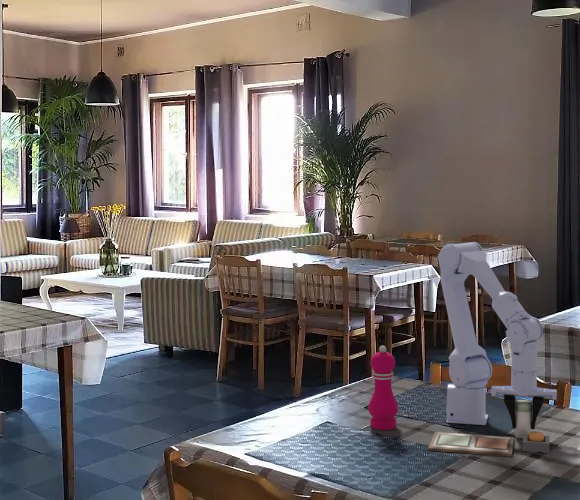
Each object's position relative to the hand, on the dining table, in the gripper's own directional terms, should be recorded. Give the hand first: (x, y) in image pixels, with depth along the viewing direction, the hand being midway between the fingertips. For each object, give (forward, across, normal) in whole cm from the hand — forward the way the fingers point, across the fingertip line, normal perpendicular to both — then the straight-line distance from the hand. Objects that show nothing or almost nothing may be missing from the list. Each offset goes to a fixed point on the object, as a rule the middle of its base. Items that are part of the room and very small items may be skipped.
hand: (523, 427), depth 199 cm
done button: (+1, +3, -8) cm, 9 cm away
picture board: (+2, -11, -9) cm, 14 cm away
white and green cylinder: (+2, 0, 0) cm, 2 cm away
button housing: (+2, +3, -8) cm, 9 cm away
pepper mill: (+2, -33, 0) cm, 33 cm away
